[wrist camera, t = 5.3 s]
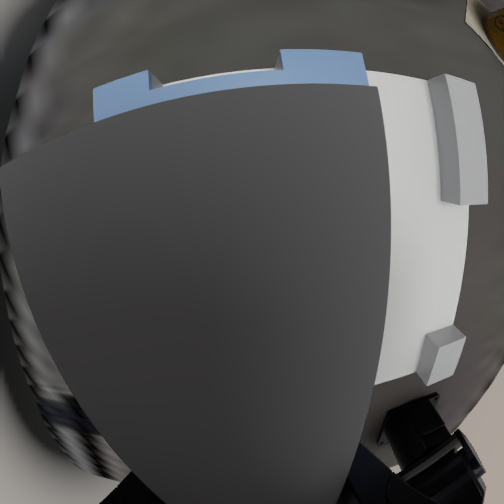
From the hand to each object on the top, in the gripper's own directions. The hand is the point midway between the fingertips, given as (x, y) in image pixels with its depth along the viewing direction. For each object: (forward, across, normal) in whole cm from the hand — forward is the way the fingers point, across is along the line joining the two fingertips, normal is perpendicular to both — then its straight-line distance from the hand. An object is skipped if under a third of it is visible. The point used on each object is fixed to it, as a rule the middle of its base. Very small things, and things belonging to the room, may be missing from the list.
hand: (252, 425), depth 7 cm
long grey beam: (+1, 0, 0) cm, 1 cm away
